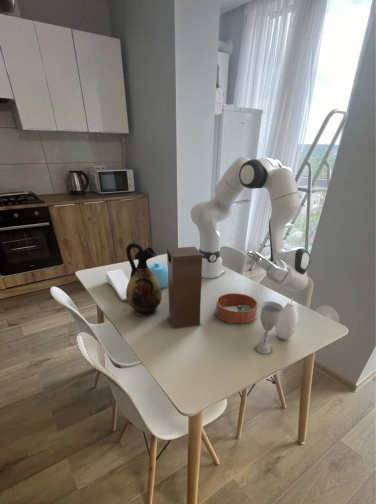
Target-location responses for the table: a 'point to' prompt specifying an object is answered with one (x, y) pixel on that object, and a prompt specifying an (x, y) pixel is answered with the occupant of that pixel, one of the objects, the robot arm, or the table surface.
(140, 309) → the ceramic jug
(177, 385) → the table surface
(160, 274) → the sugar bowl
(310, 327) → the table surface
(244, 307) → the green rectangular block
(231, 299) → the bowl
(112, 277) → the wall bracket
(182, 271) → the stand
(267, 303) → the chalice
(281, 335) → the white tall oval piece
